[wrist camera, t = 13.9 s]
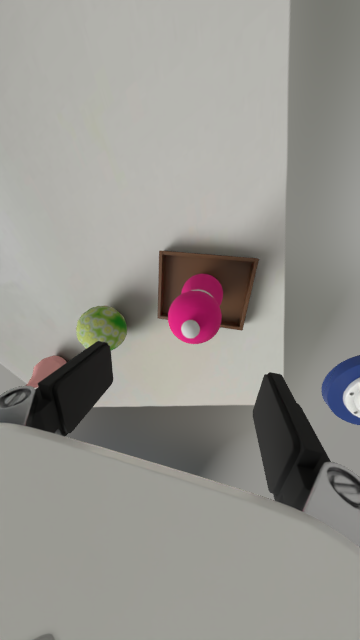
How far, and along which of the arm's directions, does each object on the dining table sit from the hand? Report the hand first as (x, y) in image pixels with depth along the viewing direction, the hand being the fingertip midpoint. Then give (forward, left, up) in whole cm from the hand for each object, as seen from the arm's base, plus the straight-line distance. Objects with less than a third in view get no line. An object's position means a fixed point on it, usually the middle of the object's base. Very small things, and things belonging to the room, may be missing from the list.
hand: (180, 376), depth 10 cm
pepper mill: (0, 0, -26) cm, 26 cm away
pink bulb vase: (+38, +26, -27) cm, 53 cm away
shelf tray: (0, 0, -27) cm, 27 cm away
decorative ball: (+20, +10, -27) cm, 35 cm away
